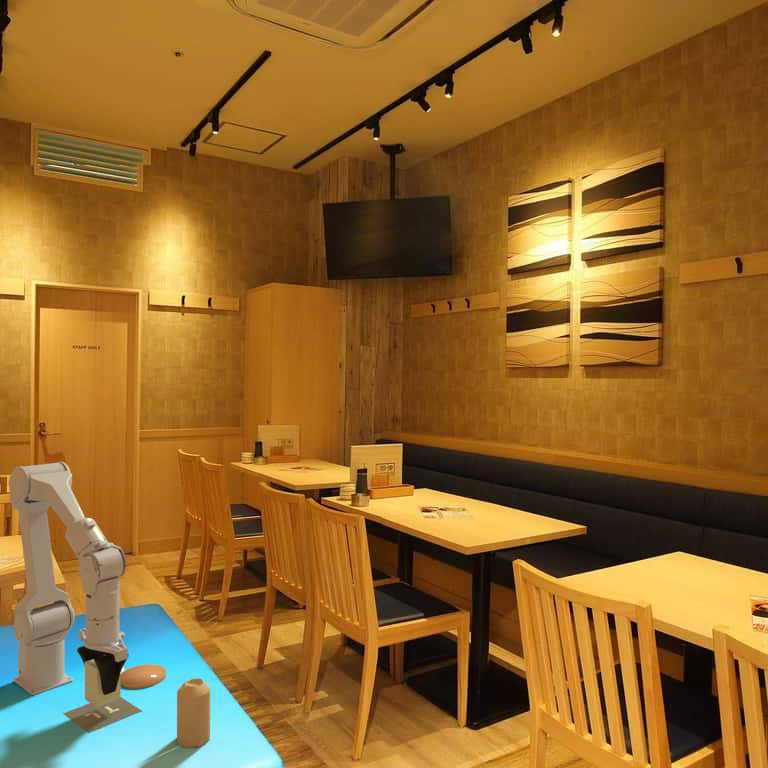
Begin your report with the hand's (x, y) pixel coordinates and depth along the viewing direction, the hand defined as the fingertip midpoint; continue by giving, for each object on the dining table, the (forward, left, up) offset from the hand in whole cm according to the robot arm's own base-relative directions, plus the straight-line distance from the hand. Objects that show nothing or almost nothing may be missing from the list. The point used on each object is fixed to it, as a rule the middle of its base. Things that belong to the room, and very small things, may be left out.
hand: (102, 688), depth 124 cm
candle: (+20, +6, -5) cm, 22 cm away
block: (0, 0, -2) cm, 2 cm away
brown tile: (0, 0, -5) cm, 5 cm away
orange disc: (-7, +12, -5) cm, 15 cm away
